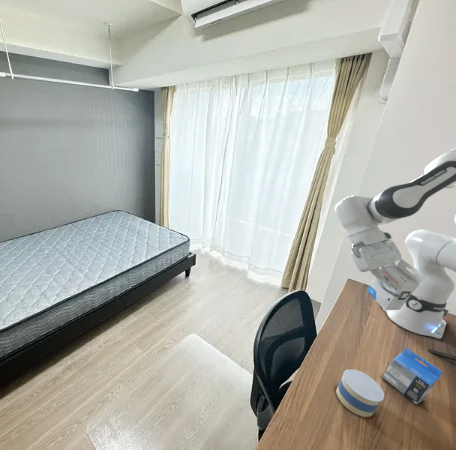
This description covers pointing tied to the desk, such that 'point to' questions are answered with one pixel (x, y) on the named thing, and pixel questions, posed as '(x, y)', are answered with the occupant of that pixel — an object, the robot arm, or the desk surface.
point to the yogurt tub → (359, 393)
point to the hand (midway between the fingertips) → (390, 279)
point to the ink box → (395, 285)
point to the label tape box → (412, 375)
